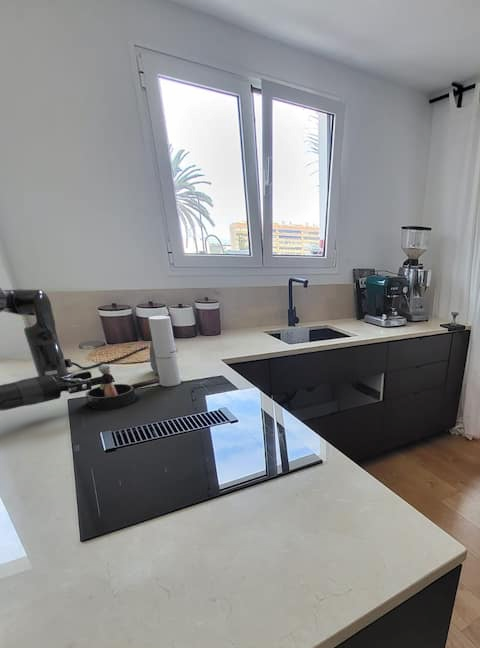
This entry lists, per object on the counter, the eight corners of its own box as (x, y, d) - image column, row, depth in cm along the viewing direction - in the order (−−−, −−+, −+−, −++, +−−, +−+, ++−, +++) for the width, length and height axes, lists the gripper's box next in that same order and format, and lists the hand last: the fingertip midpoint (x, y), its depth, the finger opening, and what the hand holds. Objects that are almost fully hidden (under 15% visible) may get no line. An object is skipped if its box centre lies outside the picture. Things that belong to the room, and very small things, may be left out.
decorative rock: (151, 369, 166) (144, 334, 160) (167, 367, 170) (161, 332, 164) (158, 380, 154) (151, 342, 148) (176, 377, 158) (170, 340, 152)
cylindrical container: (184, 382, 153) (174, 317, 143) (169, 387, 147) (157, 319, 137) (171, 379, 155) (160, 315, 145) (156, 384, 149) (143, 317, 140)
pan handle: (131, 390, 136) (130, 385, 135) (128, 389, 137) (127, 384, 136) (161, 382, 144) (160, 378, 143) (158, 381, 145) (157, 377, 144)
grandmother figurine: (115, 404, 129) (106, 367, 124) (102, 404, 128) (92, 367, 123) (122, 396, 136) (114, 360, 131) (110, 396, 135) (101, 361, 130)
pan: (99, 395, 138) (96, 384, 136) (141, 393, 140) (138, 383, 138) (81, 410, 125) (78, 398, 124) (127, 408, 128) (124, 397, 126)
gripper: (42, 383, 109) (104, 370, 121) (23, 373, 116) (83, 361, 129) (50, 408, 112) (110, 392, 124) (31, 396, 119) (89, 383, 132)
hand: (96, 377), depth 127 cm, fingers open, 8 cm apart
